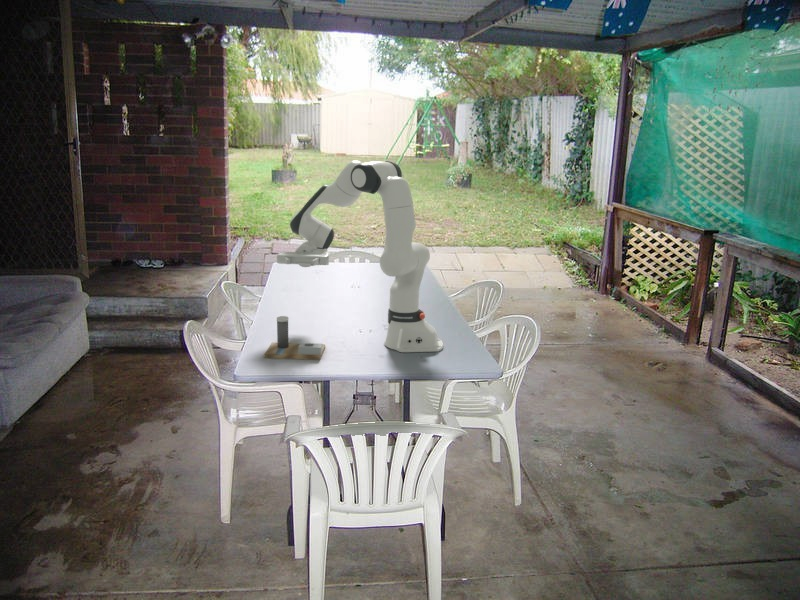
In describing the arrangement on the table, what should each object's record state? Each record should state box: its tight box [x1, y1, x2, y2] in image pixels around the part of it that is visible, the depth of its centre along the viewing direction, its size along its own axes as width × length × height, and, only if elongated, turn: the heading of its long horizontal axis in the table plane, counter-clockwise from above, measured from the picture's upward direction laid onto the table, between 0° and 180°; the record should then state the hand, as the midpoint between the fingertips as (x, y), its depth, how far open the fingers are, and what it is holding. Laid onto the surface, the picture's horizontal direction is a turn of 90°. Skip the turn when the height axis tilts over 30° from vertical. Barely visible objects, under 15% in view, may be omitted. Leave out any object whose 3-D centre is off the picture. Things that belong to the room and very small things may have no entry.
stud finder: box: [298, 342, 323, 355], centre depth 245 cm, size 8×4×3 cm, turn 89°
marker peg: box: [276, 315, 290, 348], centre depth 250 cm, size 4×4×11 cm
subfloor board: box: [264, 342, 326, 361], centre depth 249 cm, size 20×13×2 cm, turn 89°
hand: (300, 262), depth 260 cm, fingers open, 8 cm apart
